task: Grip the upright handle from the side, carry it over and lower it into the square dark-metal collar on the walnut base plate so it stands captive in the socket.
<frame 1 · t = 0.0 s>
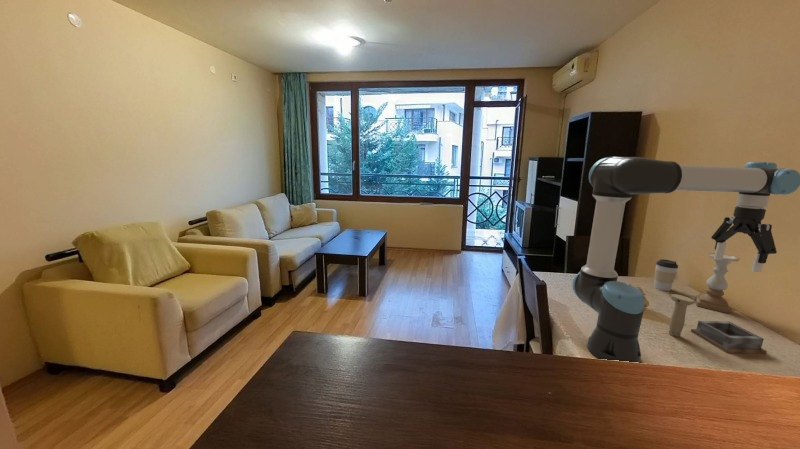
hand: (735, 265, 119), 28 cm above the table, tool pointing down, fingers open, 13 cm apart
socket: (726, 341, 121), on the table
candle holder: (711, 306, 152), on the table
handle: (674, 335, 124), on the table
coffee cup: (662, 288, 171), on the table
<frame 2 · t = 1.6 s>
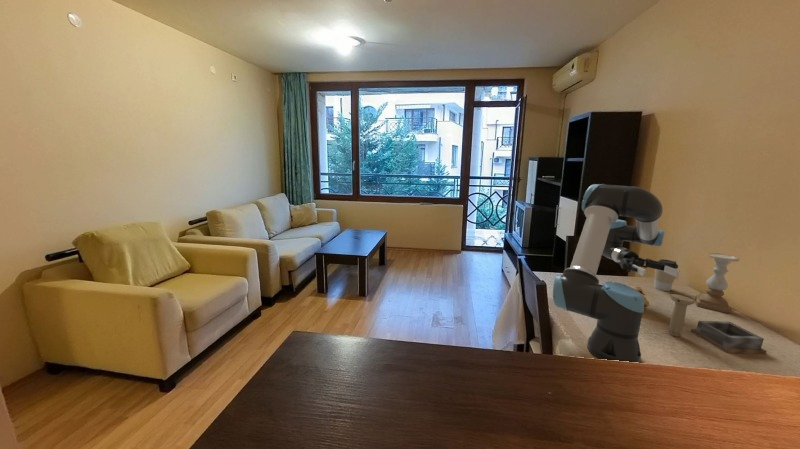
hand: (661, 273, 131), 20 cm above the table, tool horizontal, fingers open, 13 cm apart
nothing on the table moved.
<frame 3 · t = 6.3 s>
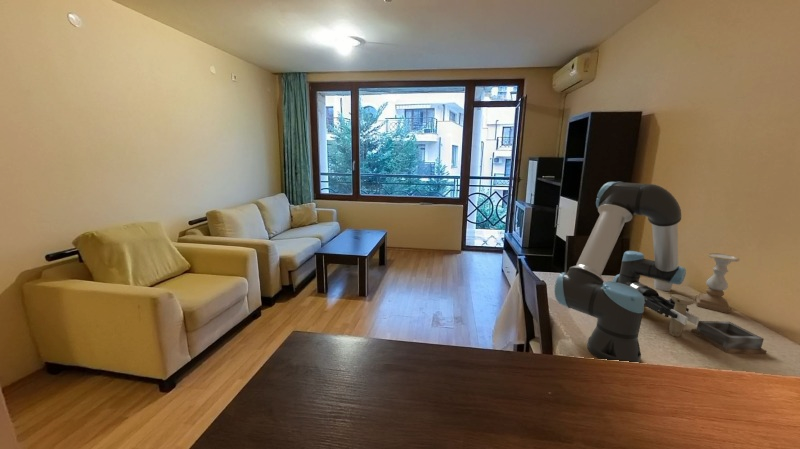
hand: (691, 321, 117), 9 cm above the table, tool horizontal, fingers closed on handle, 3 cm apart
handle: (674, 335, 124), on the table, touching gripper
everything else where it was.
when the fingers open (11 cm above the table, at t = 10.9 s): handle drops 1 cm, resting on socket.
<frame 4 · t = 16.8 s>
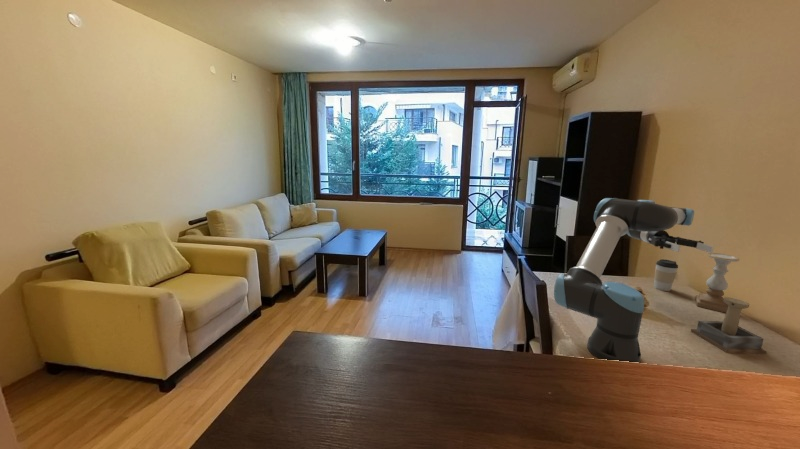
hand: (695, 249, 132), 30 cm above the table, tool horizontal, fingers open, 13 cm apart
handle: (726, 339, 121), point 1 cm above the table, touching socket
everything else where it was.
at the end: handle 0.1 cm off-centre on the socket, point 0.8 cm above the socket's base; handle tilted 0°; the gripper is holding nothing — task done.
